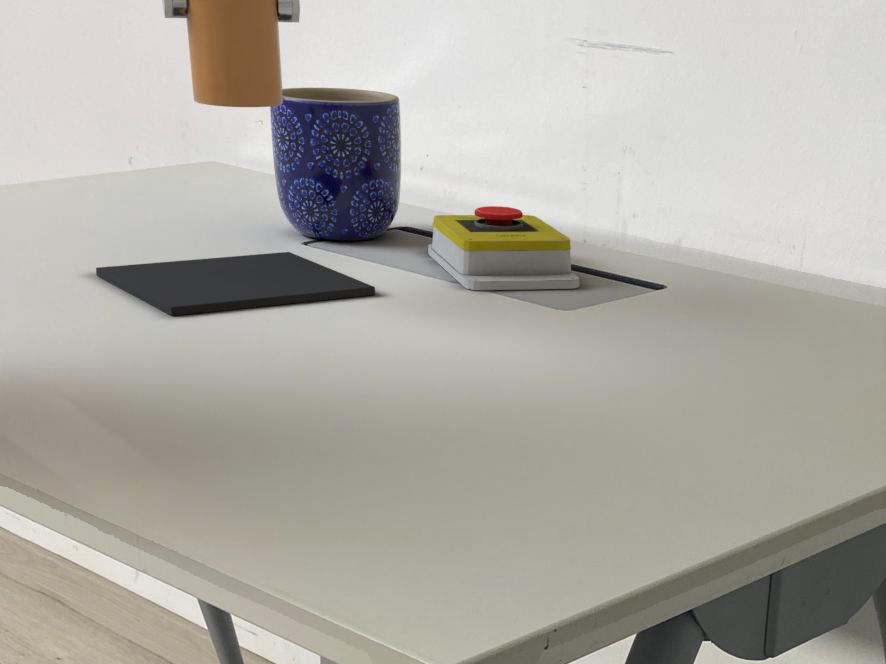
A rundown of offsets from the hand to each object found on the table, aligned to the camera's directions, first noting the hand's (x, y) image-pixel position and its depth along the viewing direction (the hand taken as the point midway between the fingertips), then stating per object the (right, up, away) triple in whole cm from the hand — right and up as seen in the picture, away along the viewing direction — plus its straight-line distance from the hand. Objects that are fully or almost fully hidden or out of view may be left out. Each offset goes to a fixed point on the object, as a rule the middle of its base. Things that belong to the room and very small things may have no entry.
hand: (233, 13), depth 95 cm
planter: (+1, -3, +31) cm, 32 cm away
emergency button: (+16, -9, +22) cm, 29 cm away
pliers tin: (0, -4, +3) cm, 5 cm away
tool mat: (-3, -14, +12) cm, 19 cm away
